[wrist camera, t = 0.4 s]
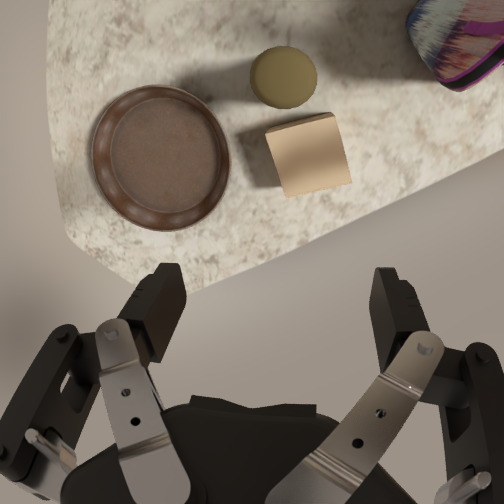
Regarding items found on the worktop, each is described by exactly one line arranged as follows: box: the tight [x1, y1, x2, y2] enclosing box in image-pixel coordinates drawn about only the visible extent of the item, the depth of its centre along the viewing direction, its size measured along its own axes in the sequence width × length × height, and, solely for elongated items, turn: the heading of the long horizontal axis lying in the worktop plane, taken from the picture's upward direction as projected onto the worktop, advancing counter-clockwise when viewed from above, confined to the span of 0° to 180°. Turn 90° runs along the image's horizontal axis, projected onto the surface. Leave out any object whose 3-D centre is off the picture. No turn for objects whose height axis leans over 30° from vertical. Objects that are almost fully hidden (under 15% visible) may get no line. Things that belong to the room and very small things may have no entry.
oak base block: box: [265, 112, 352, 199], centre depth 32 cm, size 7×7×4 cm
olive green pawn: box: [250, 46, 317, 109], centre depth 25 cm, size 6×6×11 cm
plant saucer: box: [91, 85, 231, 232], centre depth 35 cm, size 18×18×3 cm
